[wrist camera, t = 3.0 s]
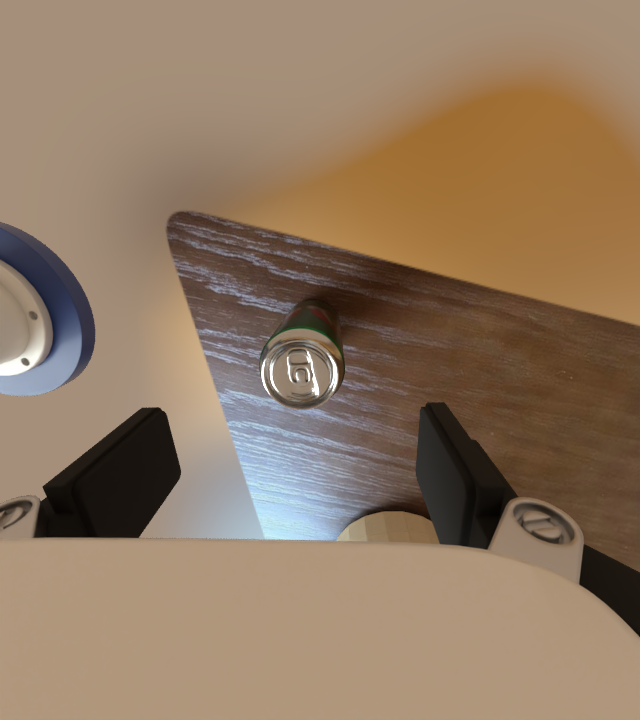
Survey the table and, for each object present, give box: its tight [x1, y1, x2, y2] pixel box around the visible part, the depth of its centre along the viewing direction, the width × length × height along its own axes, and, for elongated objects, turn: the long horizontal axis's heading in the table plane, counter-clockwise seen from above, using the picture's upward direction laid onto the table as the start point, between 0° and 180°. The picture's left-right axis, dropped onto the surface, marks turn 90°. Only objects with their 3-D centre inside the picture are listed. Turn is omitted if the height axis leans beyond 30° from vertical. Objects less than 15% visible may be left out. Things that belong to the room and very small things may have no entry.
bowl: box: [337, 511, 440, 544], centre depth 34 cm, size 14×14×6 cm
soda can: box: [259, 300, 345, 410], centre depth 22 cm, size 5×5×12 cm
